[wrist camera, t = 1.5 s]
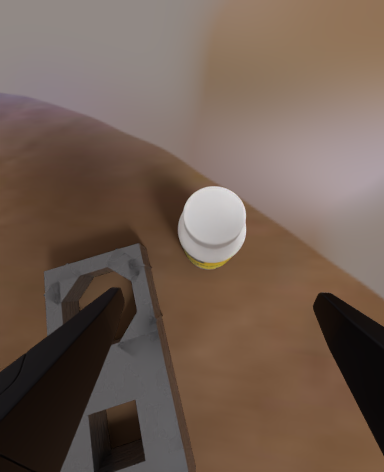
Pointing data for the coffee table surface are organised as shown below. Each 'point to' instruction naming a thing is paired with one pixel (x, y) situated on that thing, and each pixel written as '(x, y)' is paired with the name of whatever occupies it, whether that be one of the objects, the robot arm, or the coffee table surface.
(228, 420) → the coffee table surface
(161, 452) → the socket plate
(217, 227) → the supplement bottle
